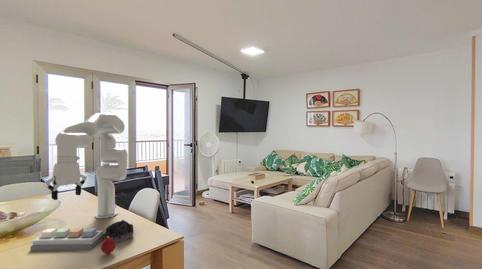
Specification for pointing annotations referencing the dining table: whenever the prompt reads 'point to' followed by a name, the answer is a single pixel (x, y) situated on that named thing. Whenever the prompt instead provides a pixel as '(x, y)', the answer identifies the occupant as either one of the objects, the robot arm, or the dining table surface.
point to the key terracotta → (76, 232)
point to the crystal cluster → (119, 231)
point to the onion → (108, 245)
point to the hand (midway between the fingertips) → (66, 197)
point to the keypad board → (66, 247)
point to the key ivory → (48, 233)
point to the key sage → (62, 232)
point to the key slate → (89, 232)
